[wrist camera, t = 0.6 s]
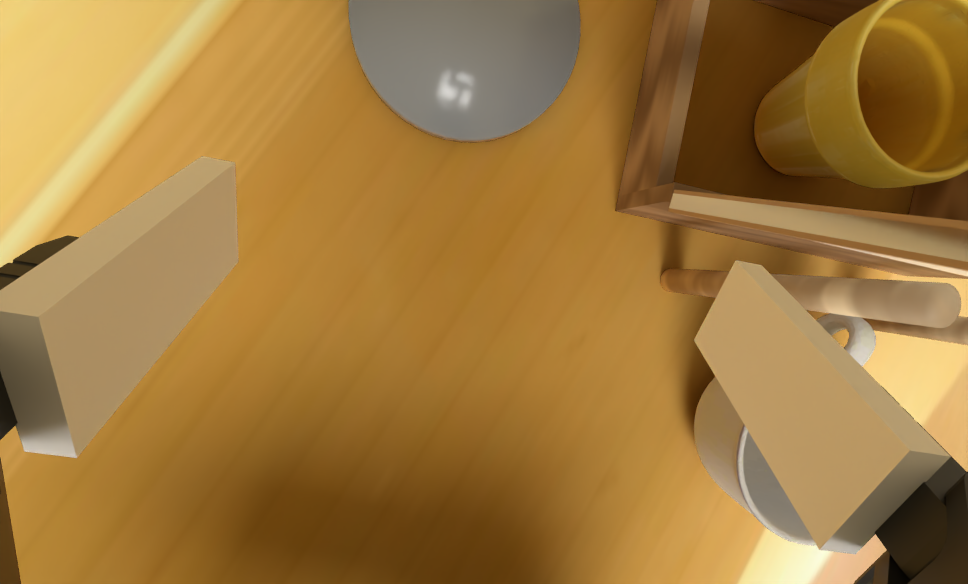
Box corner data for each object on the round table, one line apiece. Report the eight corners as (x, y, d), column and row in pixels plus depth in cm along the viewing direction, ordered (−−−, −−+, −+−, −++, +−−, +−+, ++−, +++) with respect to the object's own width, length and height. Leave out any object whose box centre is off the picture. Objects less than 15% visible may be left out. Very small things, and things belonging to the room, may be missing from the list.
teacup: (756, 512, 39) (850, 578, 31) (642, 445, 37) (712, 498, 29) (849, 351, 39) (965, 376, 31) (742, 276, 37) (837, 282, 29)
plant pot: (832, 30, 37) (988, -48, 27) (873, 168, 38) (1035, 140, 29) (708, 82, 36) (827, 19, 26) (756, 223, 37) (885, 213, 27)
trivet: (550, 164, 34) (556, 161, 33) (331, 112, 31) (328, 107, 30) (592, -52, 33) (600, -64, 32) (372, -124, 31) (372, -139, 30)
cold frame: (906, 275, 39) (1015, 280, 33) (615, 210, 35) (670, 200, 28) (956, 51, 39) (1078, 8, 32) (666, -45, 34) (735, -120, 27)
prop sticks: (847, 326, 39) (1228, 387, 21) (658, 289, 36) (919, 324, 18) (851, 305, 39) (1238, 348, 21) (662, 266, 36) (929, 279, 18)
